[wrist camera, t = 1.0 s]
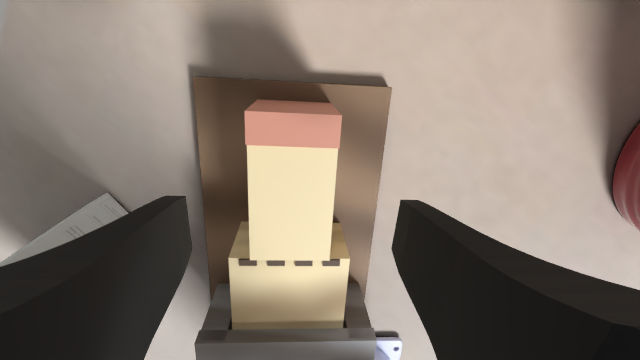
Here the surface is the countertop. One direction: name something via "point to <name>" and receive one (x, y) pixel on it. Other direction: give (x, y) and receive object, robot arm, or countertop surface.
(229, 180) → the board
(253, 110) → the stub
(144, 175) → the countertop surface
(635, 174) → the canister
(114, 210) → the supplement box
